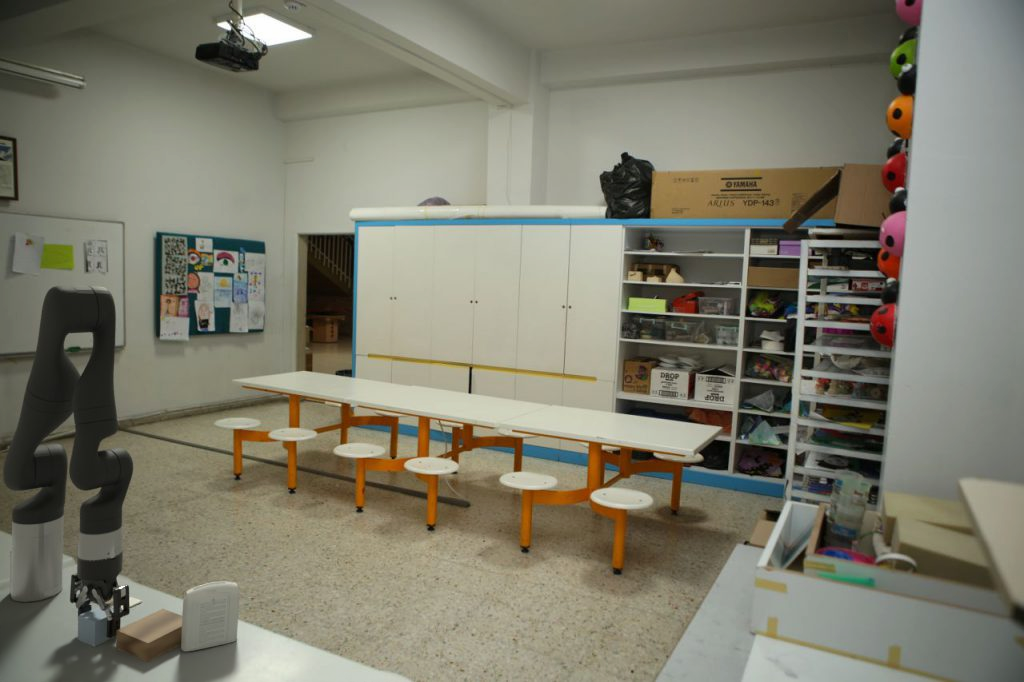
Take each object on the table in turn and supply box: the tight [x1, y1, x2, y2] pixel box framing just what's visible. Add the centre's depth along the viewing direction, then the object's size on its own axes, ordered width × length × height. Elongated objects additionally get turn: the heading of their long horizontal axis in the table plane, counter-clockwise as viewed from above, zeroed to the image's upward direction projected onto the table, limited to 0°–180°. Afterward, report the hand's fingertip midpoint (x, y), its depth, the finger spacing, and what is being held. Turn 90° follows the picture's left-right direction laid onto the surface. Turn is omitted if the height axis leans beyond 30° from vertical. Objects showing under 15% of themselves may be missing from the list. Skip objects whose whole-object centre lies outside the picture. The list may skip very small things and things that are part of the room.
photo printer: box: [180, 580, 240, 652], centre depth 128 cm, size 10×4×12 cm, turn 123°
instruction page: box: [105, 595, 143, 610], centre depth 142 cm, size 9×5×1 cm, turn 67°
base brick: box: [115, 608, 183, 663], centre depth 127 cm, size 9×10×4 cm
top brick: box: [77, 606, 116, 647], centre depth 128 cm, size 5×5×5 cm
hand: (98, 630), depth 127 cm, fingers open, 8 cm apart
